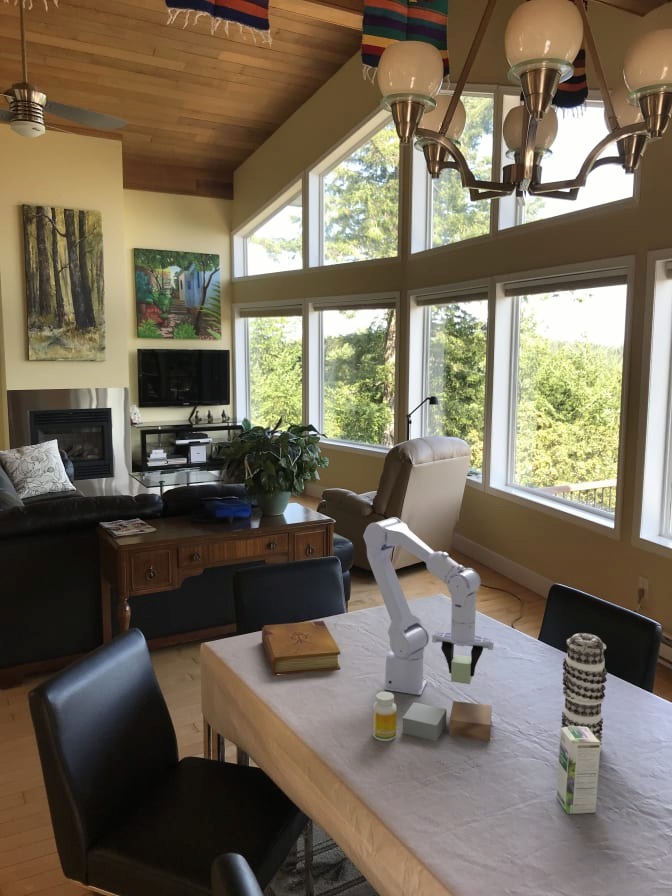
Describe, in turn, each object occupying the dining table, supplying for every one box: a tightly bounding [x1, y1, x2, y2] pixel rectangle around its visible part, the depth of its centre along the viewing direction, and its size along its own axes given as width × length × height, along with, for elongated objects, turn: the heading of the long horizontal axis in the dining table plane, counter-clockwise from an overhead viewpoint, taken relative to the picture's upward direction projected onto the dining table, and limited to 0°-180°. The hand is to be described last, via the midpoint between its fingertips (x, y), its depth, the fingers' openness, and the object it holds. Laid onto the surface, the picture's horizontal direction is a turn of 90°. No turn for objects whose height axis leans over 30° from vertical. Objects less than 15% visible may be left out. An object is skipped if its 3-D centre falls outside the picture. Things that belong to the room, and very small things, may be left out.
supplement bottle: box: [371, 691, 398, 742], centre depth 158 cm, size 5×5×10 cm
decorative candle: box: [560, 632, 608, 753], centre depth 153 cm, size 9×9×25 cm
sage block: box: [450, 653, 473, 685], centre depth 171 cm, size 4×4×5 cm
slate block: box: [401, 702, 448, 742], centre depth 162 cm, size 8×8×4 cm
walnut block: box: [448, 700, 493, 741], centre depth 162 cm, size 9×9×4 cm
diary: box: [261, 620, 341, 676], centre depth 201 cm, size 23×19×6 cm
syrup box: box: [556, 726, 601, 815], centre depth 134 cm, size 6×6×14 cm
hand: (461, 673), depth 171 cm, fingers closed on sage block, 4 cm apart
